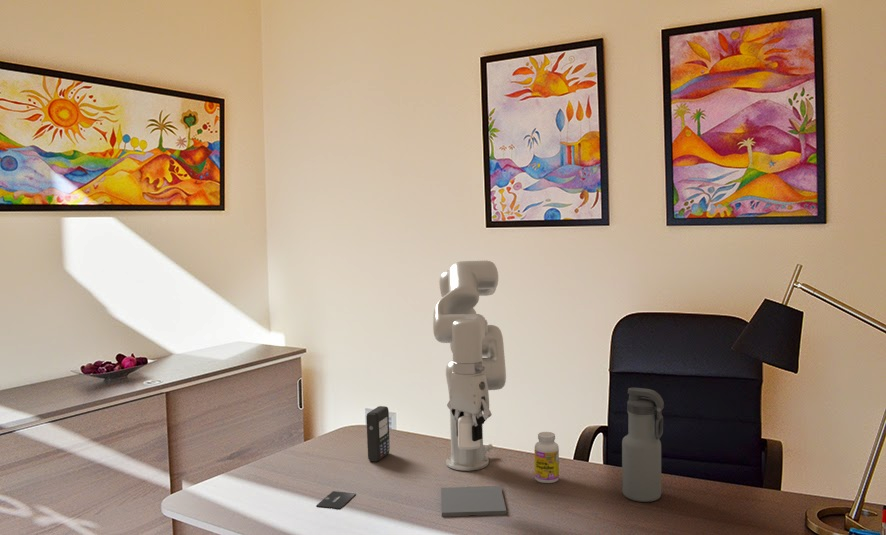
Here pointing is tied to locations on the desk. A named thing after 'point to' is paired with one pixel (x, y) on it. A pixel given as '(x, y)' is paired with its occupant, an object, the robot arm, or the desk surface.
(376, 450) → the card reader
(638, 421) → the water bottle
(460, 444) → the eye dropper bottle
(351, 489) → the desk surface
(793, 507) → the desk surface
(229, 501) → the desk surface
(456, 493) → the charcoal mat
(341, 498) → the solid state drive
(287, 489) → the desk surface
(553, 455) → the supplement bottle
